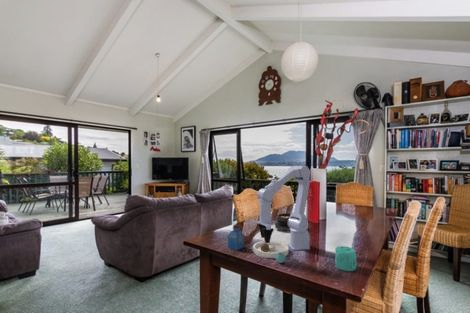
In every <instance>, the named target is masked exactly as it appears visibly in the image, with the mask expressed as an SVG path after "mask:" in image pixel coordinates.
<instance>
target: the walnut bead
mask: <svg viewBox="0 0 470 313" xmlns="http://www.w3.org/2000/svg"><path fill="white" fill-rule="evenodd" d="M261 251H263V252H268V251H269V245H268V244H266V243H263V244H262V245H261Z"/></svg>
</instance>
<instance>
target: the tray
mask: <svg viewBox="0 0 470 313" xmlns="http://www.w3.org/2000/svg"><path fill="white" fill-rule="evenodd" d="M263 243H265V240H264V241H258V242H255V243H254V244H253V245H252V252H253V254H255V256H258V257H260V258H261V257H262V258H265V259H276V255H277V254H278V253H283V254H284V255H285V257H287V256H288V255H289V252H290V251H289V248H290V246H289V245H287V244H286V243H283V242H281V241H280V242H279V241H277V240H276V241H274V240H270V243H266V244H268V245H269V251H268V252H263V251H261V245H262V244H263Z"/></svg>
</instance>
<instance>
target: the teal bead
mask: <svg viewBox="0 0 470 313" xmlns="http://www.w3.org/2000/svg"><path fill="white" fill-rule="evenodd" d="M275 260H276V262H278V263H279V264H283V263H284V262H285V261H286V256H285V255H284V254H283V253H278V254H277V255H276V258H275Z"/></svg>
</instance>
